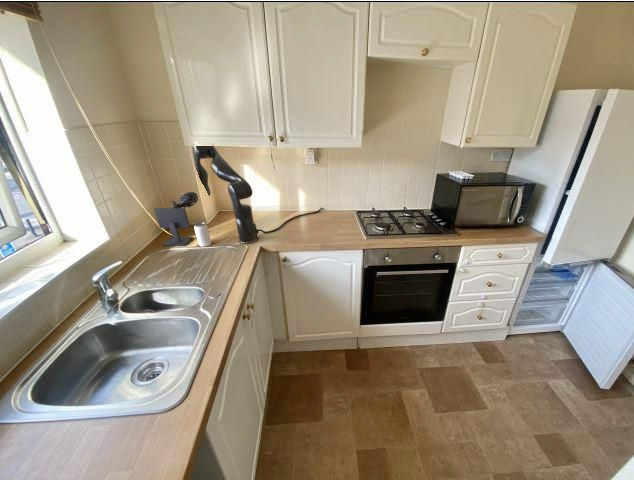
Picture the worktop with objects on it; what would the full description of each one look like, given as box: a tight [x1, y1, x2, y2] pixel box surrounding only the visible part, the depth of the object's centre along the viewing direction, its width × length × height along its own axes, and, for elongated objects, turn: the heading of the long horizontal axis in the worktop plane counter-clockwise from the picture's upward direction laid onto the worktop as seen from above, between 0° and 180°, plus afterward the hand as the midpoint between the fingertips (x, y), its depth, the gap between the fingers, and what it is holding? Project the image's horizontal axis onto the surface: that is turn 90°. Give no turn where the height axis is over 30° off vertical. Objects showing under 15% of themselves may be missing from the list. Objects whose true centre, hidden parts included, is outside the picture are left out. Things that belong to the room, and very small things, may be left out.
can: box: [193, 221, 212, 248], centre depth 154 cm, size 6×6×12 cm
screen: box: [153, 207, 191, 229], centre depth 153 cm, size 1×16×11 cm, turn 91°
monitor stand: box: [162, 222, 194, 247], centre depth 156 cm, size 10×12×12 cm
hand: (175, 207), depth 156 cm, fingers closed
